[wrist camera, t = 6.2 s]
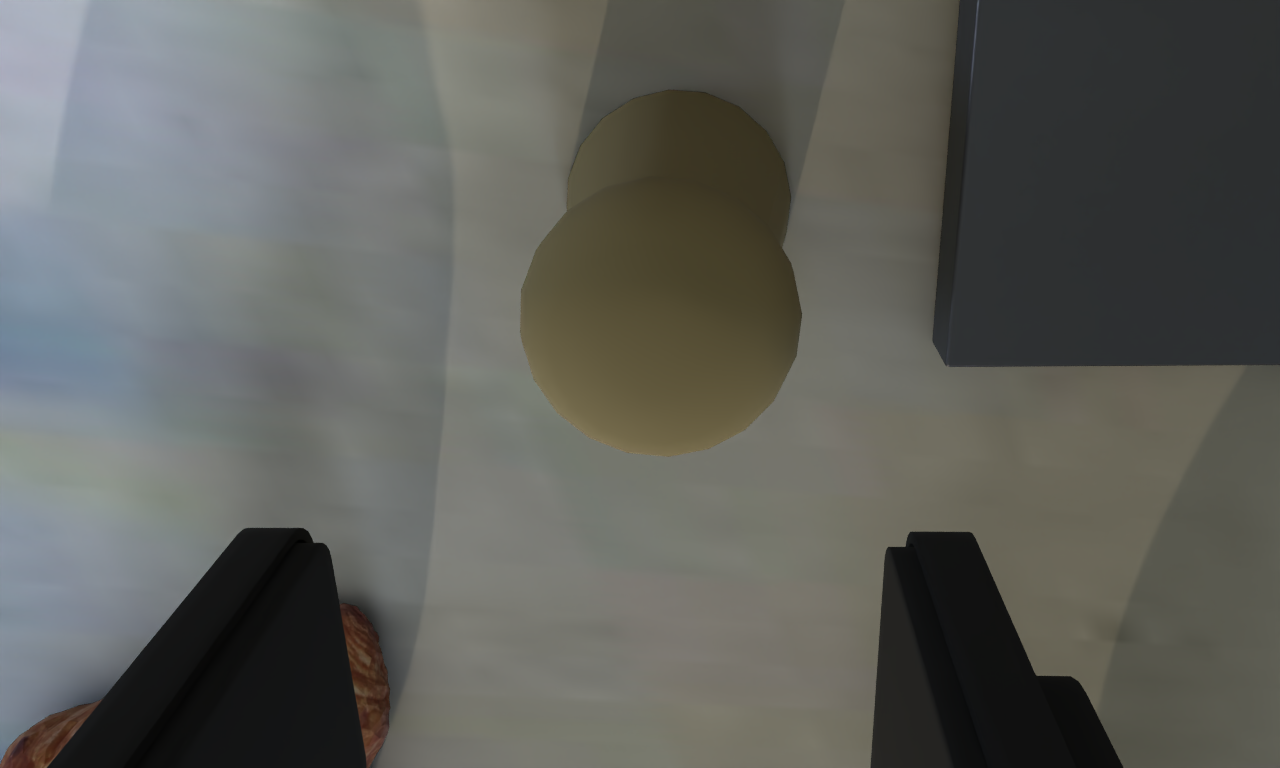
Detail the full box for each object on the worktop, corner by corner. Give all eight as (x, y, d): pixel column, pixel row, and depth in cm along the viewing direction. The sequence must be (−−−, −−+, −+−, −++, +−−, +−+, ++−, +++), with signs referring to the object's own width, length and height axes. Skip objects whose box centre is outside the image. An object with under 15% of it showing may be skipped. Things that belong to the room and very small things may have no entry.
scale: (970, -343, 23) (1012, -391, 19) (1673, -383, 21) (1841, -441, 18) (918, 343, 29) (944, 392, 26) (1463, 338, 28) (1561, 389, 24)
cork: (579, 318, 29) (505, 514, 19) (553, 99, 27) (453, 189, 17) (794, 304, 29) (836, 499, 18) (786, 79, 26) (830, 160, 16)
